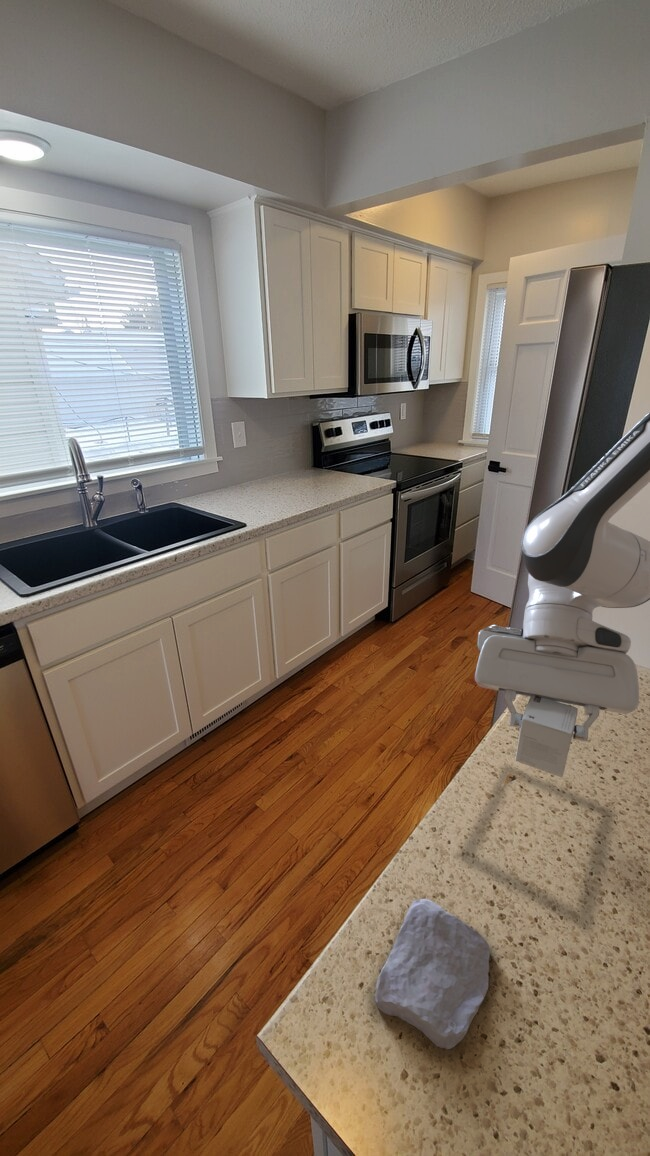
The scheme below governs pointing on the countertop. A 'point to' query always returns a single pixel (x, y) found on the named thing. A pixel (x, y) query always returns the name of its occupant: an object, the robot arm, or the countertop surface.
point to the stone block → (435, 974)
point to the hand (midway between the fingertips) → (547, 733)
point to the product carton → (546, 735)
